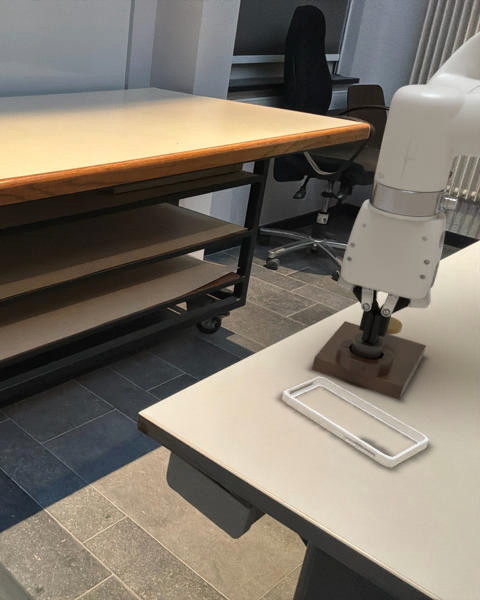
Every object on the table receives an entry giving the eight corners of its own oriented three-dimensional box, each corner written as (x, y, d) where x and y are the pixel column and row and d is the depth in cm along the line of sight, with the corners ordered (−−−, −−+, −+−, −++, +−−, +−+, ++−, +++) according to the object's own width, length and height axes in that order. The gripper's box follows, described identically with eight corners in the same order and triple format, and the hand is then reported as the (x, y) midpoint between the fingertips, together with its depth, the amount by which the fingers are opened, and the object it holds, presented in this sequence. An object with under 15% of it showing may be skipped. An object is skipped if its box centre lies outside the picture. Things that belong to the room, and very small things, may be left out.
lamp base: (422, 359, 93) (429, 333, 91) (397, 404, 83) (405, 376, 81) (341, 334, 99) (347, 309, 97) (309, 373, 88) (315, 347, 87)
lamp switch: (383, 352, 87) (387, 338, 86) (376, 364, 84) (380, 349, 83) (355, 343, 89) (358, 330, 88) (347, 354, 86) (350, 340, 85)
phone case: (428, 448, 75) (318, 383, 86) (431, 438, 75) (320, 374, 86) (388, 470, 71) (279, 400, 83) (391, 460, 71) (281, 391, 82)
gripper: (483, 204, 76) (441, 344, 84) (349, 179, 84) (322, 310, 92) (472, 221, 71) (428, 370, 79) (329, 193, 78) (302, 331, 87)
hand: (371, 337), depth 85 cm, fingers closed
